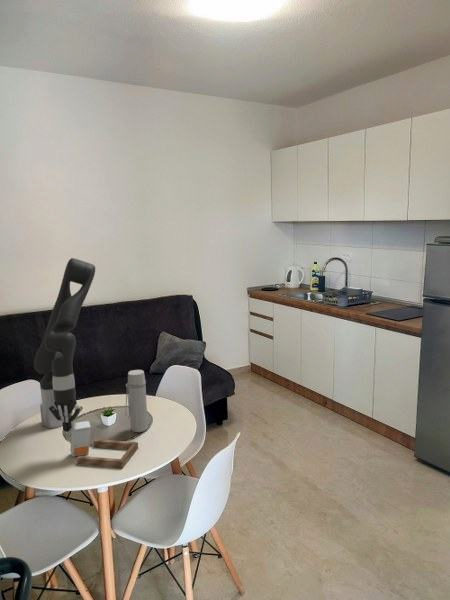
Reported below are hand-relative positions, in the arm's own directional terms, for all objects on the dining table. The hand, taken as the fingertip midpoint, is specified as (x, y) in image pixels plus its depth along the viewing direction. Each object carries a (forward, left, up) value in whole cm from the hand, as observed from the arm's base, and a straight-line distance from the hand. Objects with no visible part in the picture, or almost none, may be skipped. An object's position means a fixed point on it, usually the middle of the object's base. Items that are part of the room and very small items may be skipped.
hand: (67, 430), depth 159 cm
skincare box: (+3, +1, -9) cm, 10 cm away
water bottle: (+17, +23, -10) cm, 31 cm away
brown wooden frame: (+15, +1, -10) cm, 18 cm away
